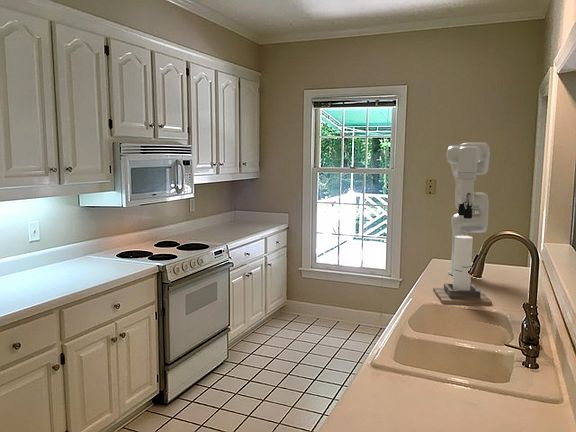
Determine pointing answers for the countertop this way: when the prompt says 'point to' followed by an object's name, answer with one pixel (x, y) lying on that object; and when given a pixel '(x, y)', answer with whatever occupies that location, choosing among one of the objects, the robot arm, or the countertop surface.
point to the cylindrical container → (462, 263)
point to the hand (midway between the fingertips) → (464, 216)
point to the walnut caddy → (461, 296)
